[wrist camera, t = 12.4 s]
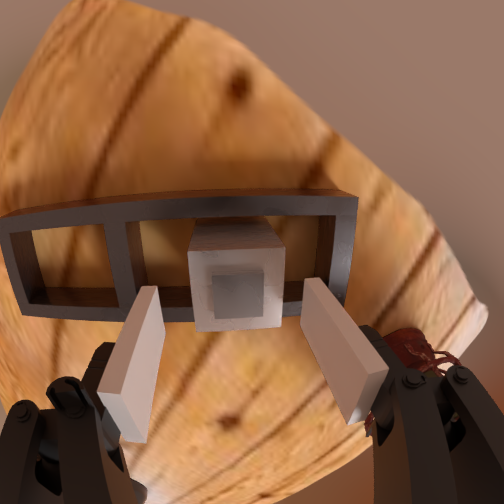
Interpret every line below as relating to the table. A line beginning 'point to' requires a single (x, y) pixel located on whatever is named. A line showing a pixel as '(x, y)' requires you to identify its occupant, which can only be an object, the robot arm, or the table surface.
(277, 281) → the block
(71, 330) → the table surface
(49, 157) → the table surface
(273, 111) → the table surface
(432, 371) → the lantern
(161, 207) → the dark grey divided frame
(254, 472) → the table surface
